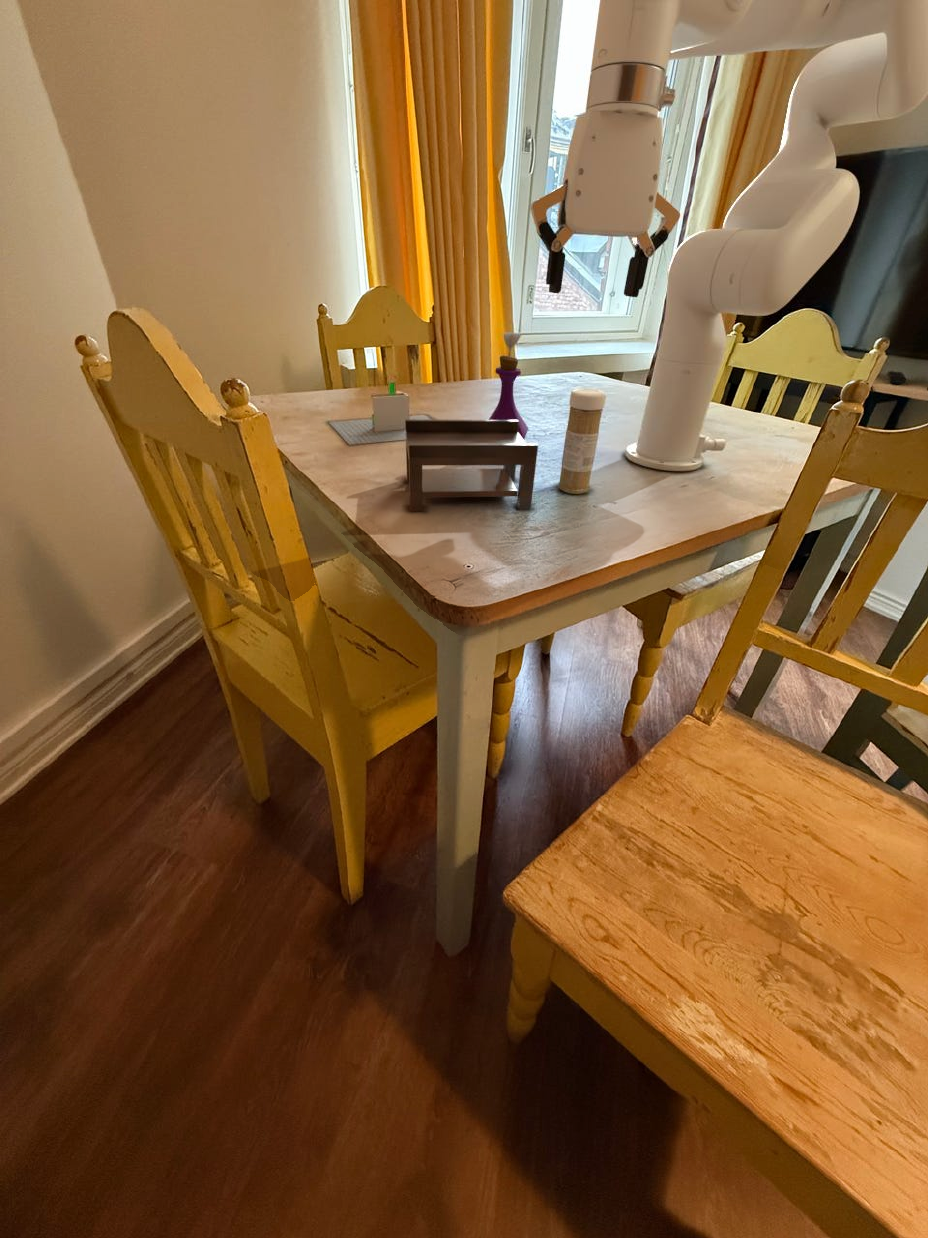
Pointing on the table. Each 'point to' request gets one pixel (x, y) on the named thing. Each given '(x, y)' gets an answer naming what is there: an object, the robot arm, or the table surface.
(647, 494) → the table surface
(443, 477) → the rack
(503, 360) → the perfume bottle
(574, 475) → the sprinkles bottle
